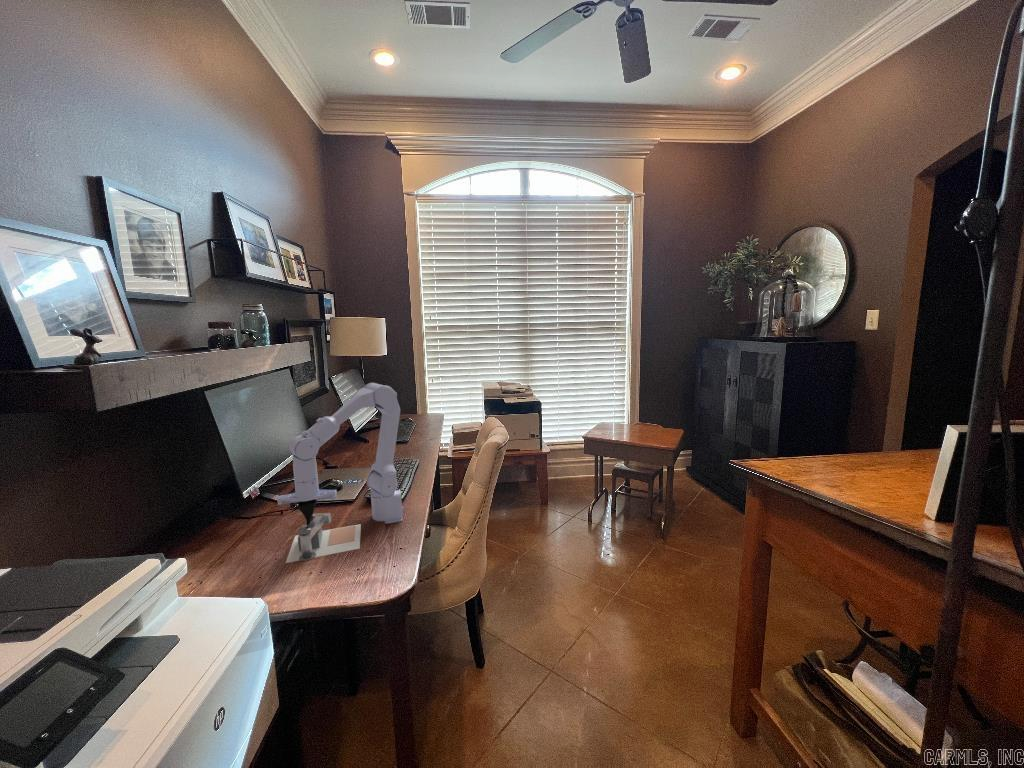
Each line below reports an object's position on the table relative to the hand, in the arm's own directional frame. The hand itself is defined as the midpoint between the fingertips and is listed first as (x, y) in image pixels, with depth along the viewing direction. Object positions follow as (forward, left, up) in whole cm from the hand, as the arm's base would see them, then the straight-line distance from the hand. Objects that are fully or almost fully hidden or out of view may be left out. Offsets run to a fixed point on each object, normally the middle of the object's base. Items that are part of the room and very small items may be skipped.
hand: (310, 524), depth 107 cm
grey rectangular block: (0, 0, -6) cm, 6 cm away
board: (-4, +1, -7) cm, 8 cm away
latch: (-1, +3, -5) cm, 6 cm away
